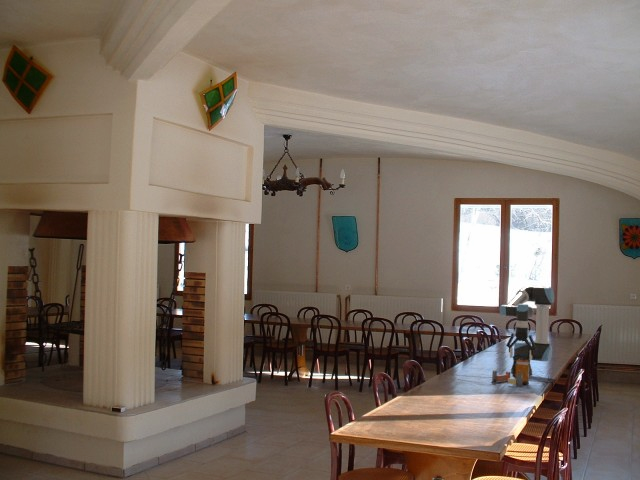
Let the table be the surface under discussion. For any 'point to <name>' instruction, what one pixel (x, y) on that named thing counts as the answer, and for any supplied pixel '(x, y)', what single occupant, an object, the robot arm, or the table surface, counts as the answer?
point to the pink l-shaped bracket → (503, 377)
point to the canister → (521, 367)
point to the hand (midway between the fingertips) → (520, 358)
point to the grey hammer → (517, 380)
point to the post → (494, 376)
